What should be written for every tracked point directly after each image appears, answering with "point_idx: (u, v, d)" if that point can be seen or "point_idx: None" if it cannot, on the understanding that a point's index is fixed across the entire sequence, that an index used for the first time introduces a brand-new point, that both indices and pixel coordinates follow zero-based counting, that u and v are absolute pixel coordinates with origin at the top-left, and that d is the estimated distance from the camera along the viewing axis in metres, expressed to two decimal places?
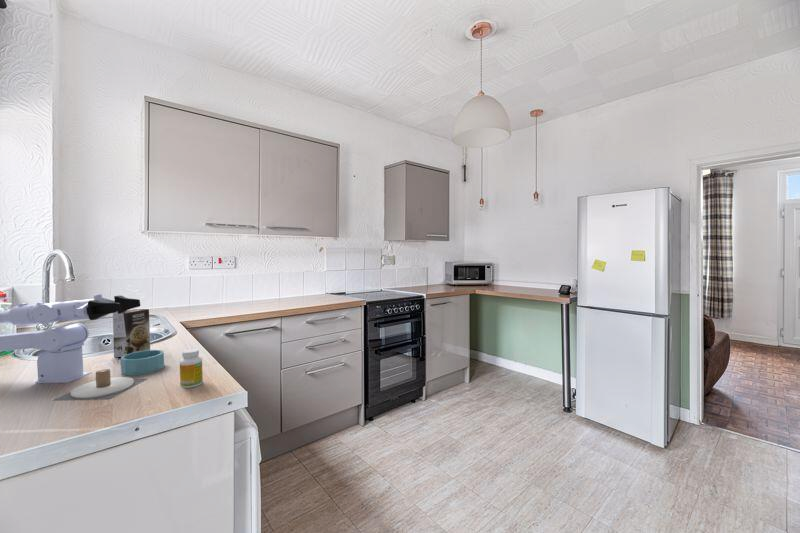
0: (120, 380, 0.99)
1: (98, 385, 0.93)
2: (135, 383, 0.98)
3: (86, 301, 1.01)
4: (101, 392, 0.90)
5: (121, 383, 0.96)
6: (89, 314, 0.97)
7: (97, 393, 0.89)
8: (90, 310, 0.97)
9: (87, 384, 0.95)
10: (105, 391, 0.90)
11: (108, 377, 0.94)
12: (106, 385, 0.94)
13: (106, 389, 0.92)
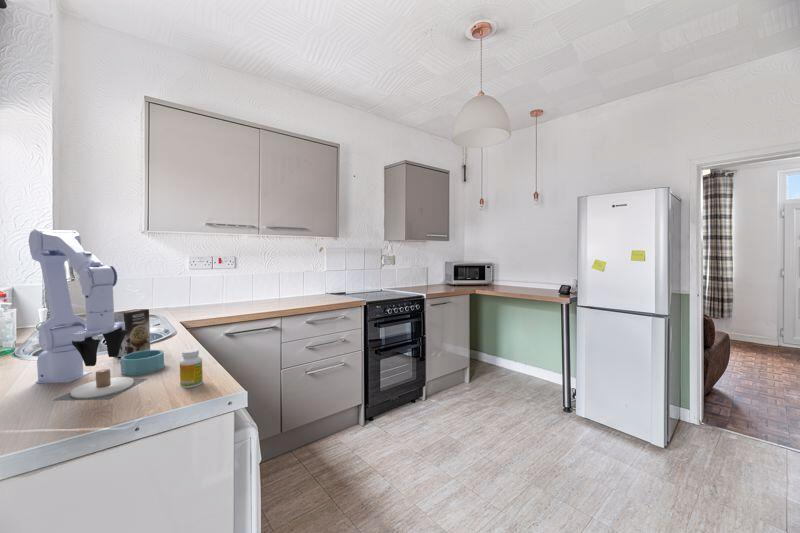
0: (120, 380, 0.99)
1: (98, 385, 0.93)
2: (135, 383, 0.98)
3: (104, 321, 0.92)
4: (101, 392, 0.90)
5: (121, 383, 0.96)
6: (77, 342, 0.88)
7: (97, 393, 0.89)
8: (82, 343, 0.88)
9: (87, 384, 0.95)
10: (105, 391, 0.90)
11: (108, 377, 0.94)
12: (106, 385, 0.94)
13: (106, 389, 0.92)
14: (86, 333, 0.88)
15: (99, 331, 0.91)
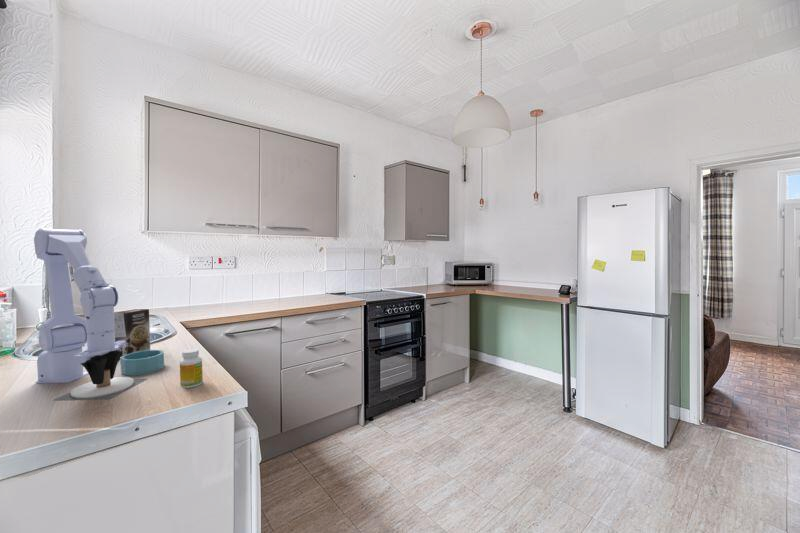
0: (120, 379, 0.99)
1: (98, 385, 0.93)
2: (135, 383, 0.98)
3: (105, 342, 0.92)
4: (101, 392, 0.90)
5: (121, 383, 0.96)
6: (85, 361, 0.90)
7: (97, 393, 0.89)
8: (89, 362, 0.90)
9: (87, 384, 0.95)
10: (105, 391, 0.90)
11: (108, 377, 0.94)
12: (106, 385, 0.94)
13: (106, 388, 0.92)
14: (87, 355, 0.88)
15: (100, 352, 0.91)
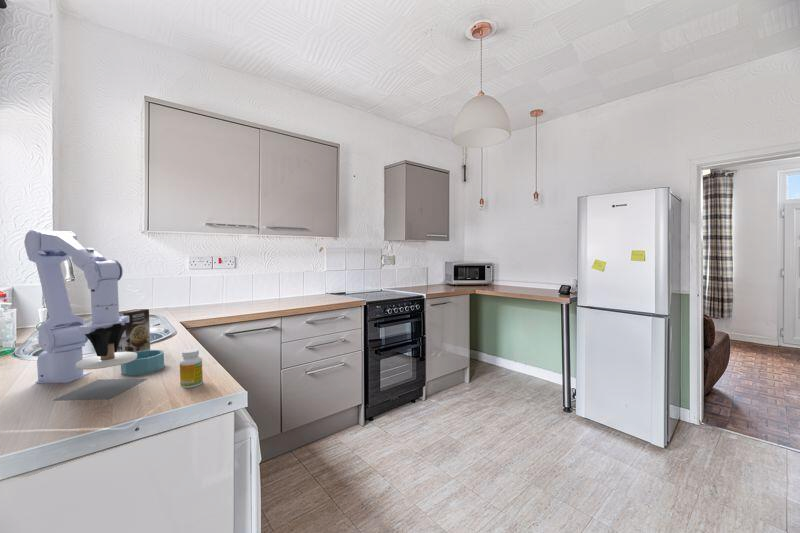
0: (123, 354, 1.00)
1: (102, 357, 0.94)
2: (135, 383, 0.98)
3: (109, 315, 0.94)
4: (105, 363, 0.91)
5: (125, 356, 0.97)
6: (89, 333, 0.91)
7: (101, 364, 0.91)
8: (94, 334, 0.92)
9: (92, 357, 0.97)
10: (109, 363, 0.92)
11: (112, 350, 0.96)
12: (110, 358, 0.95)
13: (110, 361, 0.94)
14: (91, 326, 0.90)
15: (104, 324, 0.92)
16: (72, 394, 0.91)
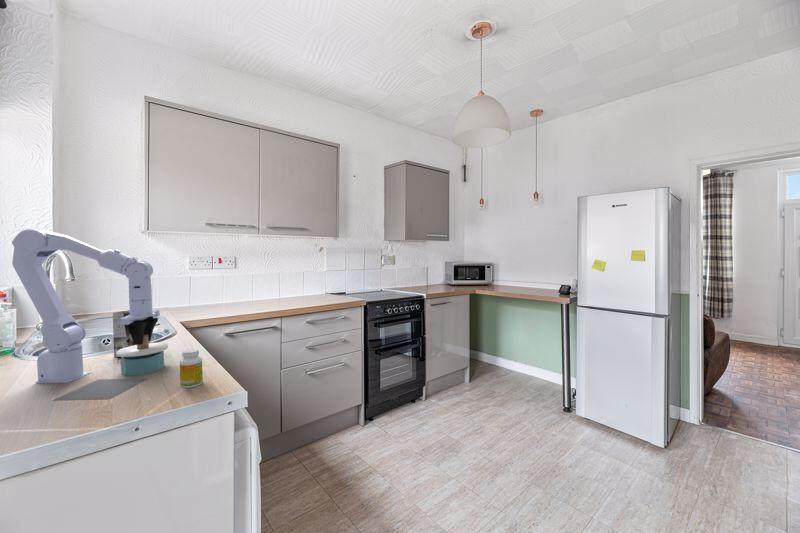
0: (155, 344, 1.14)
1: (139, 347, 1.08)
2: (135, 383, 0.98)
3: (145, 308, 1.08)
4: (142, 352, 1.05)
5: (157, 346, 1.11)
6: (128, 324, 1.05)
7: (139, 352, 1.04)
8: (132, 325, 1.05)
9: (128, 347, 1.11)
10: (146, 351, 1.06)
11: (147, 340, 1.09)
12: (145, 347, 1.09)
13: (146, 350, 1.07)
14: (131, 318, 1.03)
15: (141, 317, 1.06)
16: (72, 394, 0.91)
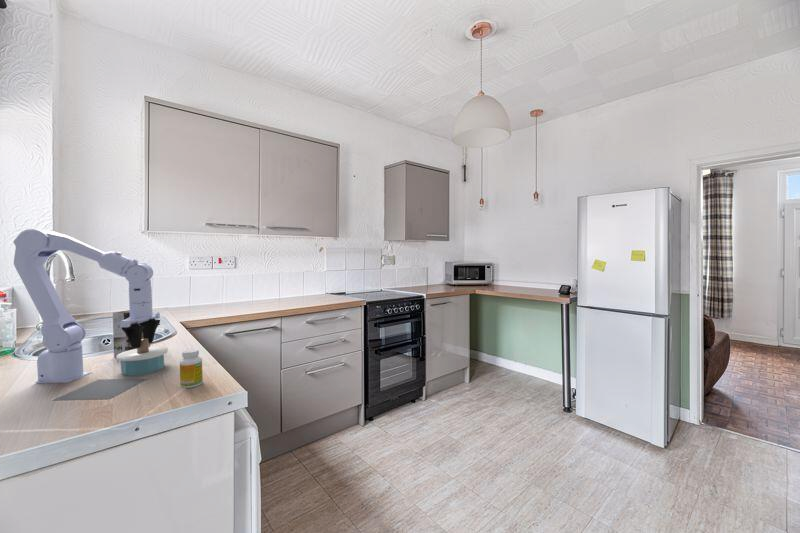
0: (155, 348, 1.14)
1: (139, 351, 1.08)
2: (135, 383, 0.98)
3: (145, 311, 1.08)
4: (142, 356, 1.05)
5: (158, 350, 1.11)
6: (126, 327, 1.04)
7: (139, 357, 1.05)
8: (130, 328, 1.04)
9: (128, 351, 1.11)
10: (146, 355, 1.06)
11: (147, 345, 1.09)
12: (145, 351, 1.09)
13: (146, 354, 1.07)
14: (131, 320, 1.03)
15: (141, 319, 1.06)
16: (72, 394, 0.91)
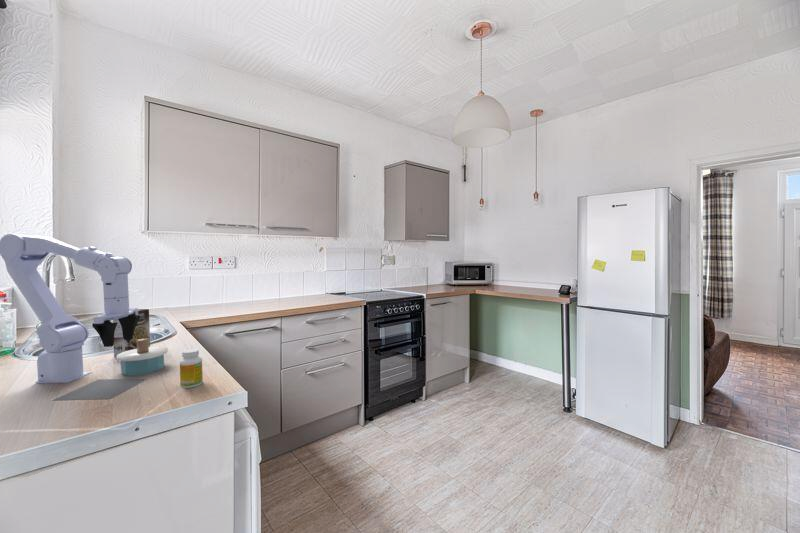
0: (155, 348, 1.14)
1: (139, 351, 1.08)
2: (135, 383, 0.98)
3: (121, 306, 1.02)
4: (142, 356, 1.05)
5: (158, 350, 1.11)
6: (96, 324, 0.97)
7: (139, 357, 1.05)
8: (101, 325, 0.97)
9: (128, 351, 1.11)
10: (146, 355, 1.06)
11: (147, 345, 1.09)
12: (145, 351, 1.09)
13: (146, 354, 1.07)
14: (105, 316, 0.97)
15: (116, 315, 1.00)
16: (72, 394, 0.91)
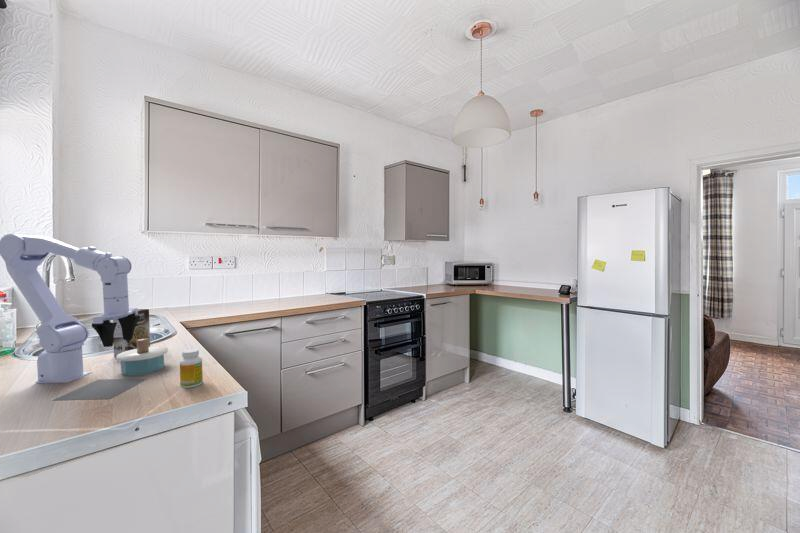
0: (155, 348, 1.14)
1: (139, 351, 1.08)
2: (135, 383, 0.98)
3: (120, 306, 1.01)
4: (142, 356, 1.05)
5: (158, 350, 1.11)
6: (96, 324, 0.97)
7: (139, 357, 1.05)
8: (100, 325, 0.97)
9: (128, 351, 1.11)
10: (146, 355, 1.06)
11: (147, 345, 1.09)
12: (145, 351, 1.09)
13: (146, 354, 1.07)
14: (104, 316, 0.97)
15: (116, 315, 1.00)
16: (72, 394, 0.91)
